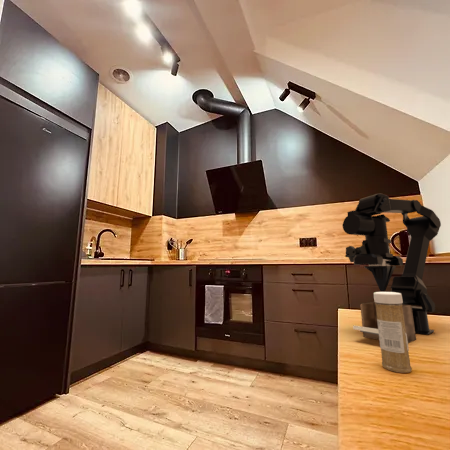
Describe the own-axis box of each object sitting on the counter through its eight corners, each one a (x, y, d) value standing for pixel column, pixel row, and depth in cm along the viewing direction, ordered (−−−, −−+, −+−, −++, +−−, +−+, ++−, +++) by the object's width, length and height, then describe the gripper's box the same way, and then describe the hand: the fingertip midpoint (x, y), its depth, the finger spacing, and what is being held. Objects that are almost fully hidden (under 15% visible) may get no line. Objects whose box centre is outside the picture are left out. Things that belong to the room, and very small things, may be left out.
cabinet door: (365, 327, 67) (353, 325, 63) (399, 332, 61) (387, 331, 57) (365, 331, 67) (353, 330, 63) (399, 337, 60) (388, 336, 57)
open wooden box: (376, 332, 72) (373, 302, 73) (416, 339, 64) (411, 305, 66) (363, 336, 67) (360, 304, 69) (404, 344, 60) (400, 308, 61)
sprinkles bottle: (416, 370, 44) (405, 292, 47) (405, 376, 42) (394, 293, 44) (388, 362, 48) (380, 291, 50) (376, 367, 45) (368, 292, 48)
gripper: (362, 241, 85) (367, 288, 82) (333, 237, 74) (338, 290, 71) (400, 238, 76) (407, 290, 73) (373, 232, 65) (380, 293, 62)
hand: (382, 291), depth 70 cm, fingers closed
